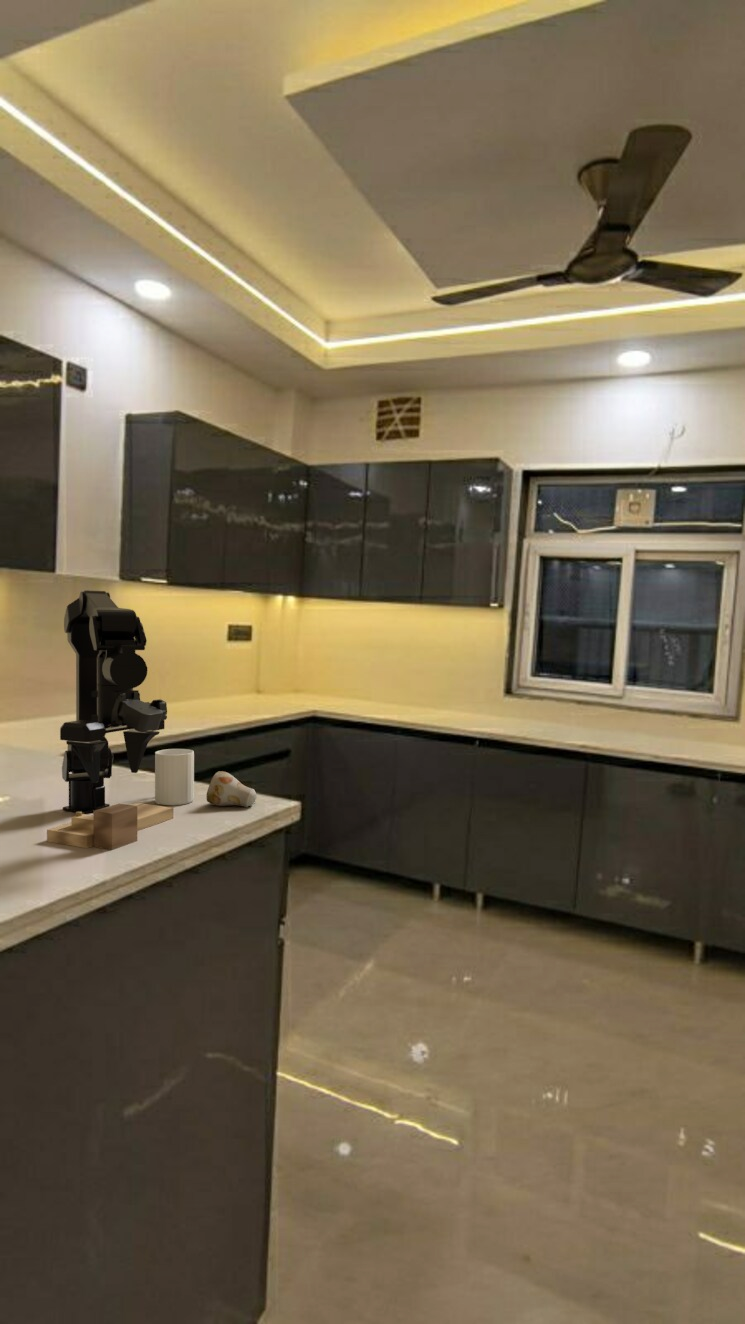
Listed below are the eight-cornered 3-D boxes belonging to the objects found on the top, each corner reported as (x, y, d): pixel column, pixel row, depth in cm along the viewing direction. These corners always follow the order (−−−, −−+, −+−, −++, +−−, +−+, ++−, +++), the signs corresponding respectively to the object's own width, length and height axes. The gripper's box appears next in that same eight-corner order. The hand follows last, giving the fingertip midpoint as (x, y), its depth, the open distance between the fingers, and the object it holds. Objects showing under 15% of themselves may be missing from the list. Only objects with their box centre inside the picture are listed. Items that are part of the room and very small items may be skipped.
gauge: (63, 841, 127) (63, 806, 127) (89, 832, 132) (89, 799, 132) (112, 849, 123) (112, 813, 122) (137, 840, 128) (137, 805, 128)
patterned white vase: (254, 812, 150) (229, 770, 149) (216, 829, 153) (191, 788, 152) (267, 795, 157) (243, 755, 155) (231, 811, 160) (207, 772, 159)
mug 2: (193, 805, 154) (193, 754, 154) (153, 806, 153) (153, 755, 152) (194, 792, 166) (194, 745, 166) (157, 793, 164) (157, 746, 164)
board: (46, 841, 127) (46, 829, 127) (136, 812, 147) (136, 802, 147) (87, 848, 123) (87, 835, 123) (173, 818, 143) (173, 807, 143)
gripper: (112, 690, 113) (112, 792, 114) (189, 683, 130) (189, 772, 131) (57, 687, 118) (57, 785, 118) (139, 680, 135) (139, 766, 135)
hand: (115, 777), depth 125 cm, fingers open, 9 cm apart
